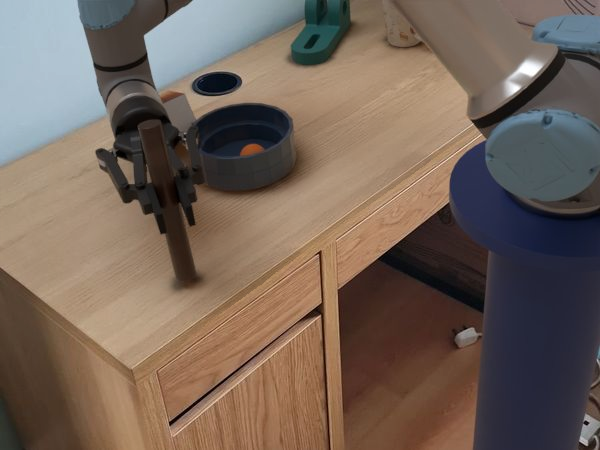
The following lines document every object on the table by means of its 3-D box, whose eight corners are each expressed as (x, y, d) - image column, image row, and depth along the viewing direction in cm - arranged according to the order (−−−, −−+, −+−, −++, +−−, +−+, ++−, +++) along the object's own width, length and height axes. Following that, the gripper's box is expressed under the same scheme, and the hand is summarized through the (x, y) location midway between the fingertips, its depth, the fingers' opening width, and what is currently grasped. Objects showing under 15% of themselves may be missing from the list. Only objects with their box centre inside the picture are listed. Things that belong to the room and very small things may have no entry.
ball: (241, 139, 114) (253, 158, 116) (230, 158, 112) (243, 178, 114) (263, 136, 112) (276, 157, 114) (253, 156, 110) (266, 176, 112)
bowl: (318, 161, 116) (315, 126, 112) (236, 207, 108) (230, 171, 105) (253, 126, 125) (249, 92, 121) (174, 166, 118) (167, 132, 114)
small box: (168, 89, 125) (186, 92, 116) (182, 122, 127) (200, 127, 117) (122, 110, 123) (136, 113, 113) (136, 142, 125) (152, 149, 115)
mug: (405, 26, 149) (405, -26, 143) (453, 46, 141) (455, -8, 135) (372, 40, 146) (370, -12, 139) (419, 62, 137) (420, 7, 131)
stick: (201, 273, 96) (165, 121, 87) (185, 283, 95) (148, 129, 85) (186, 267, 98) (150, 117, 88) (171, 278, 96) (132, 126, 87)
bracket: (317, 21, 154) (314, -18, 150) (350, 23, 152) (348, -17, 148) (286, 63, 141) (282, 22, 137) (322, 66, 139) (319, 24, 134)
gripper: (201, 131, 108) (248, 228, 90) (87, 159, 105) (113, 265, 87) (192, 82, 104) (240, 174, 86) (72, 109, 100) (97, 211, 82)
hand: (176, 220), depth 86 cm, fingers closed on stick, 3 cm apart
